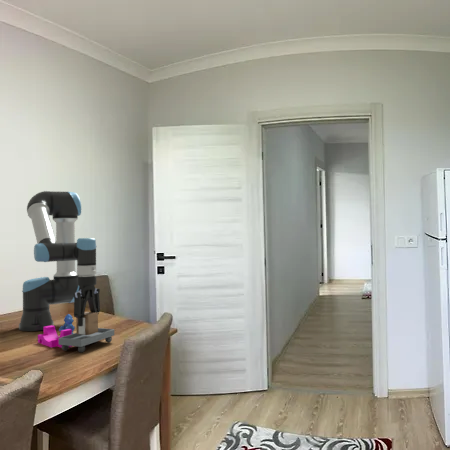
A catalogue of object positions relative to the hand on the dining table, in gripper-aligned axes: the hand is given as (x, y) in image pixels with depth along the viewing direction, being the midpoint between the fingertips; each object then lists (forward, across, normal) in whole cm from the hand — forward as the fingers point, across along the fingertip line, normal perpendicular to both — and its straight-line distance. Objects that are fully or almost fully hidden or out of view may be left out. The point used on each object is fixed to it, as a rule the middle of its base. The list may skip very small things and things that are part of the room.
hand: (87, 332), depth 188 cm
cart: (+6, 0, 0) cm, 6 cm away
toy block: (+6, -4, +14) cm, 16 cm away
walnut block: (0, 0, 0) cm, 0 cm away
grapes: (+6, +3, +13) cm, 15 cm away
